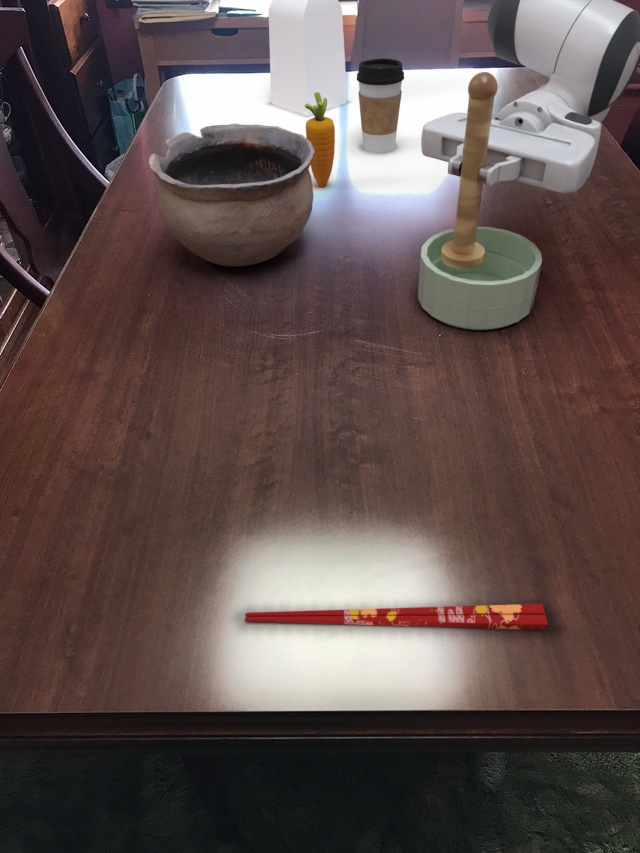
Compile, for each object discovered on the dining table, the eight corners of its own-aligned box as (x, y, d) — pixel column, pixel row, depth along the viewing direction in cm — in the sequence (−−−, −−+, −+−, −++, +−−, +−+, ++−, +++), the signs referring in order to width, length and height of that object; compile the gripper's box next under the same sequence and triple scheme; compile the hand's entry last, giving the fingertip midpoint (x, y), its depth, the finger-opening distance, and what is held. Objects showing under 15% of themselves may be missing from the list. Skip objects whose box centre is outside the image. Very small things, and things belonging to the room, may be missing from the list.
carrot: (331, 195, 115) (329, 100, 105) (303, 192, 116) (298, 98, 106) (340, 183, 119) (338, 90, 108) (313, 180, 120) (309, 88, 110)
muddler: (467, 244, 87) (489, 62, 73) (492, 262, 83) (521, 74, 69) (432, 254, 85) (448, 70, 71) (456, 273, 82) (478, 83, 67)
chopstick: (246, 612, 56) (244, 606, 56) (541, 609, 56) (543, 602, 55) (244, 634, 55) (242, 628, 54) (546, 631, 54) (549, 624, 54)
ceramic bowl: (222, 208, 113) (208, 113, 103) (342, 231, 105) (340, 131, 95) (139, 272, 98) (114, 168, 88) (272, 304, 91) (261, 195, 81)
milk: (271, 105, 150) (260, -37, 133) (310, 92, 156) (304, -46, 138) (308, 117, 143) (301, -30, 126) (347, 103, 149) (346, -40, 131)
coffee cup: (347, 152, 129) (347, 64, 119) (371, 137, 134) (372, 52, 124) (386, 160, 125) (389, 71, 115) (409, 145, 130) (413, 58, 120)
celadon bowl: (485, 263, 97) (492, 216, 92) (556, 313, 87) (567, 264, 82) (396, 291, 92) (399, 243, 88) (460, 347, 83) (466, 296, 78)
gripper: (458, 92, 87) (393, 124, 79) (615, 126, 77) (559, 166, 69) (453, 142, 91) (391, 177, 84) (601, 181, 81) (546, 224, 74)
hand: (468, 173), depth 76 cm, fingers closed on muddler, 2 cm apart
